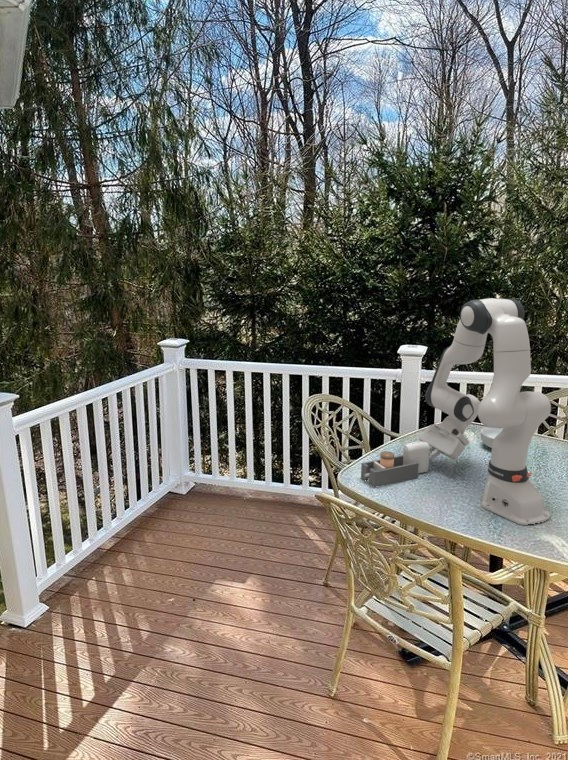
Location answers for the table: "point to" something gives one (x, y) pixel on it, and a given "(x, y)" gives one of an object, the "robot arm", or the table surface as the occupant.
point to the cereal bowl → (489, 435)
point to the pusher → (376, 468)
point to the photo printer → (417, 455)
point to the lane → (389, 472)
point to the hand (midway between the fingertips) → (428, 458)
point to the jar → (387, 459)
